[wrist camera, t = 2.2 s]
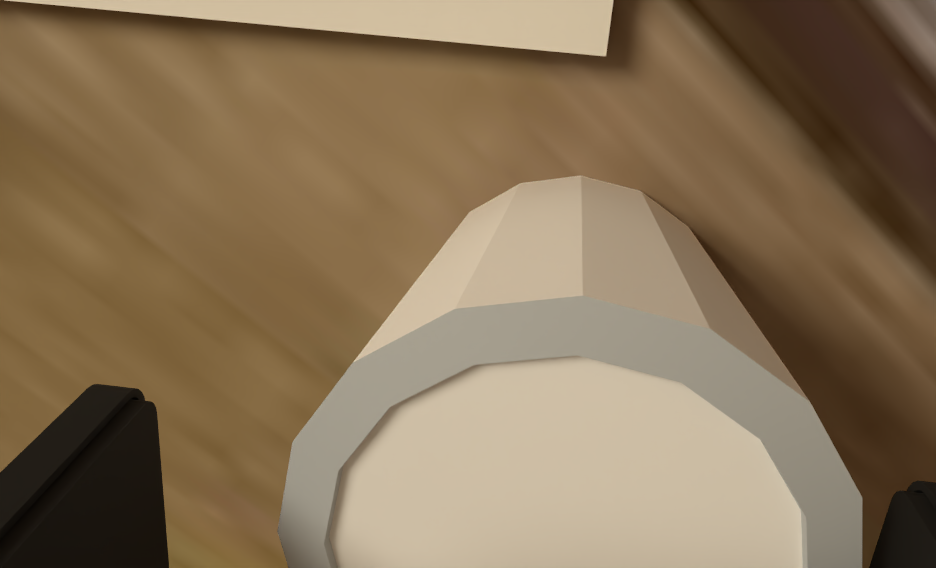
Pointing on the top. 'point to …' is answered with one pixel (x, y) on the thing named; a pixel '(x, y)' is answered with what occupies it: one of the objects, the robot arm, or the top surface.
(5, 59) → the top surface
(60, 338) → the top surface
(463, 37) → the arena
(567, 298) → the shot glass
